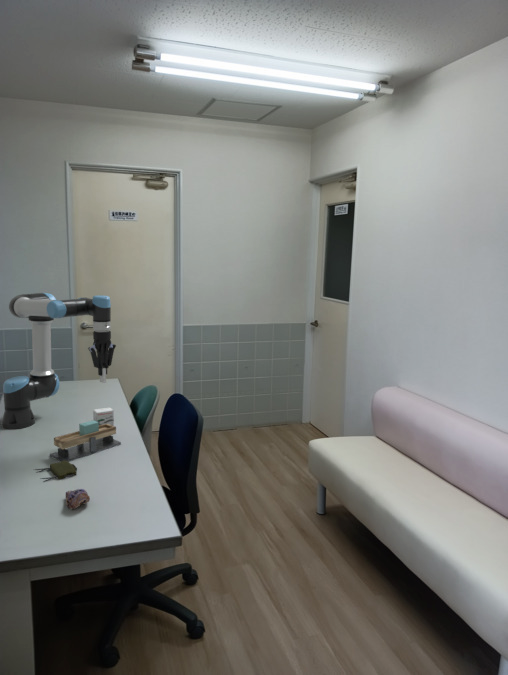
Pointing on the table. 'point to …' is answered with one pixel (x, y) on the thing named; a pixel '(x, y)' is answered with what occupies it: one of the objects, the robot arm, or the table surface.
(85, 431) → the teal rectangular block
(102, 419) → the ink box
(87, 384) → the table surface
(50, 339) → the robot arm
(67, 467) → the electronic device
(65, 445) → the beam
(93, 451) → the stand
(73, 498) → the purple brown lumpy chunk
